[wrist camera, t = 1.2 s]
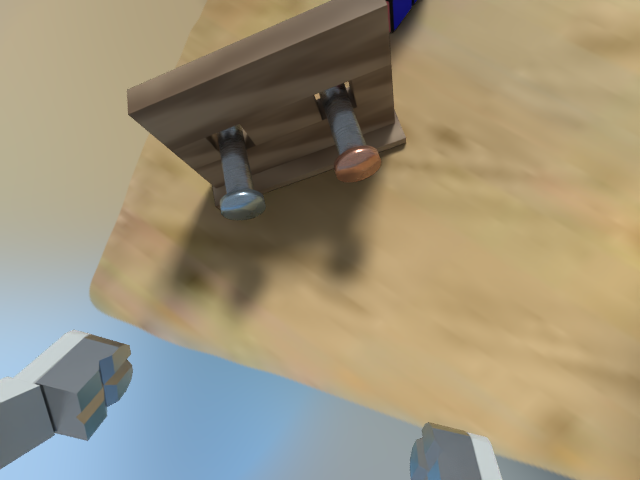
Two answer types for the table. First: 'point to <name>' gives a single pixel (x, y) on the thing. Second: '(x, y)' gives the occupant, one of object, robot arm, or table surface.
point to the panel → (277, 95)
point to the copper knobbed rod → (348, 137)
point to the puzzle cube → (397, 11)
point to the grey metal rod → (238, 178)
